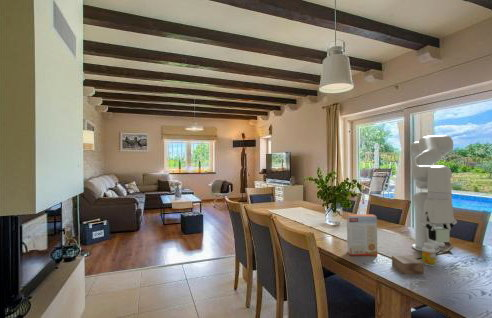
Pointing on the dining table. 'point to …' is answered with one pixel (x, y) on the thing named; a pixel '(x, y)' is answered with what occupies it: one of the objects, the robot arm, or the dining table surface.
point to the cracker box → (362, 234)
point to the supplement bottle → (429, 254)
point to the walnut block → (408, 265)
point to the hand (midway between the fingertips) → (438, 238)
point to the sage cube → (442, 234)
